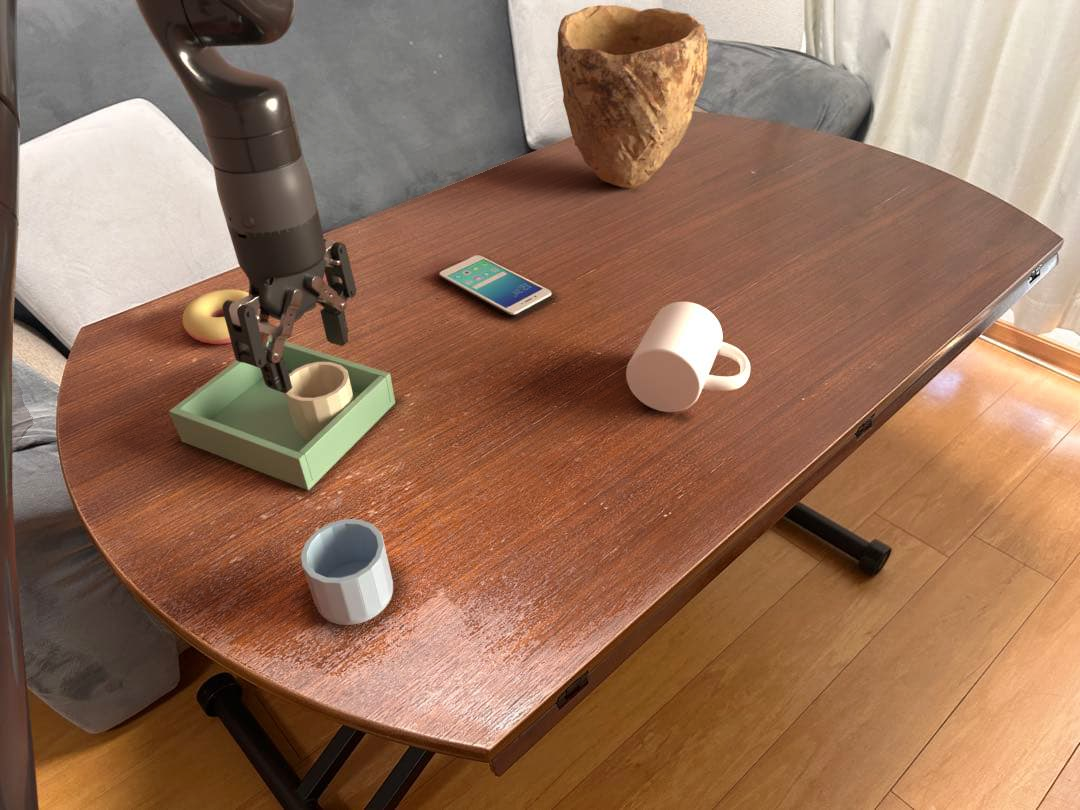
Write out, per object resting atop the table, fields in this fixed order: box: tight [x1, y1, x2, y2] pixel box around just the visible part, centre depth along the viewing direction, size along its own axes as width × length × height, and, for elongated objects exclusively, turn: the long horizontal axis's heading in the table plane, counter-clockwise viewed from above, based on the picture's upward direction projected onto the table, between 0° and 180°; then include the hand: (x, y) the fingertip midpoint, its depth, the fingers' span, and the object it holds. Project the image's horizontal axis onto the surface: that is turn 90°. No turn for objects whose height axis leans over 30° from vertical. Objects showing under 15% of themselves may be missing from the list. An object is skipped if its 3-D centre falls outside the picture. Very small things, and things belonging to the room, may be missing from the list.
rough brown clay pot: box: [556, 4, 709, 189], centre depth 119 cm, size 22×22×25 cm
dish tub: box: [168, 336, 396, 491], centre depth 79 cm, size 15×17×4 cm
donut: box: [182, 289, 249, 345], centre depth 94 cm, size 10×5×9 cm
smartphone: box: [439, 254, 552, 319], centre depth 100 cm, size 7×1×15 cm
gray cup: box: [300, 518, 394, 626], centre depth 61 cm, size 6×6×6 cm
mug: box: [625, 301, 751, 413], centre depth 81 cm, size 12×10×8 cm
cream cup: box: [284, 362, 354, 441], centre depth 77 cm, size 6×6×6 cm
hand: (310, 365), depth 74 cm, fingers open, 8 cm apart
